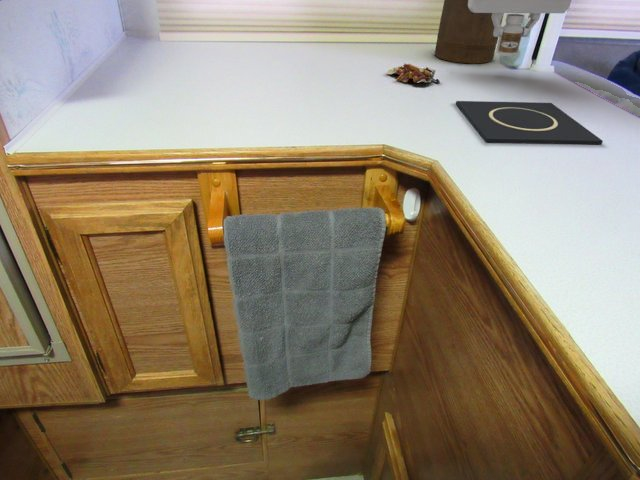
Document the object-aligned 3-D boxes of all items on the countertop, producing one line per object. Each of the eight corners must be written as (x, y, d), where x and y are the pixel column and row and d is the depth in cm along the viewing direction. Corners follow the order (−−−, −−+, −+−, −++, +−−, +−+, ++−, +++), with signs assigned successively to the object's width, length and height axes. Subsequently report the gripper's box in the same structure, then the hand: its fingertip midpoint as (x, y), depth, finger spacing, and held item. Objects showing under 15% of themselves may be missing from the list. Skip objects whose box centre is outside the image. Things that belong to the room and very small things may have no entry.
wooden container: (504, 62, 106) (532, -43, 93) (450, 65, 103) (471, -43, 90) (474, 49, 118) (494, -46, 105) (424, 51, 115) (440, -47, 102)
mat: (550, 105, 80) (551, 101, 80) (601, 144, 65) (603, 139, 65) (455, 104, 80) (456, 99, 79) (486, 142, 65) (487, 137, 65)
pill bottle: (497, 56, 92) (507, 16, 87) (494, 51, 95) (503, 13, 91) (518, 57, 91) (529, 17, 87) (514, 52, 95) (524, 13, 90)
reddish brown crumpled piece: (398, 70, 98) (400, 54, 96) (441, 82, 91) (444, 65, 89) (377, 76, 94) (379, 58, 92) (421, 88, 87) (424, 70, 85)
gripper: (574, -41, 86) (551, 33, 94) (473, -42, 86) (459, 33, 94) (590, -40, 81) (565, 39, 89) (483, -41, 80) (468, 39, 89)
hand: (510, 36), depth 91 cm, fingers closed on pill bottle, 4 cm apart
